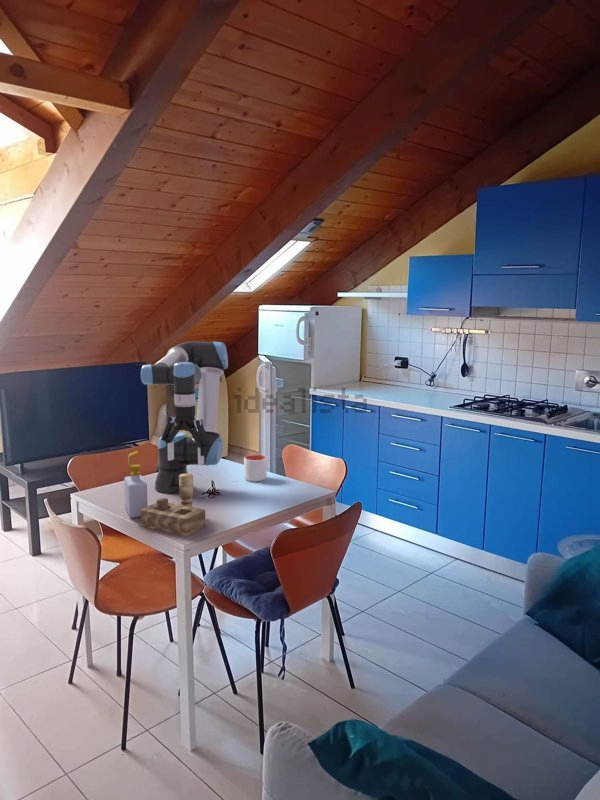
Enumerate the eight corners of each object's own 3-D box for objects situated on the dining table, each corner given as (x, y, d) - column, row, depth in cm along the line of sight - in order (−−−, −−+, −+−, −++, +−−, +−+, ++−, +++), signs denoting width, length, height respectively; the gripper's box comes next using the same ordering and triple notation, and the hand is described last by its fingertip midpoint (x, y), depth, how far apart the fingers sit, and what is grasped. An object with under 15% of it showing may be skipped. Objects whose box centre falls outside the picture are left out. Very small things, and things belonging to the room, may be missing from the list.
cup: (265, 482, 273) (265, 460, 271) (243, 482, 273) (242, 460, 271) (267, 476, 283) (267, 455, 281) (245, 476, 283) (245, 454, 281)
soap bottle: (148, 516, 229) (146, 454, 225) (129, 518, 226) (127, 456, 222) (142, 506, 240) (140, 447, 236) (125, 508, 237) (123, 448, 233)
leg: (177, 515, 230) (176, 476, 228) (185, 511, 235) (184, 473, 232) (188, 517, 228) (187, 478, 226) (196, 513, 232) (195, 474, 230)
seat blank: (140, 526, 219) (139, 501, 217) (160, 516, 229) (160, 493, 227) (186, 536, 210) (186, 510, 209) (205, 525, 220) (205, 501, 218)
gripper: (150, 403, 227) (152, 460, 230) (207, 409, 216) (208, 468, 219) (163, 401, 233) (165, 455, 237) (219, 406, 223) (219, 463, 226)
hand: (185, 462), depth 228 cm, fingers open, 13 cm apart
